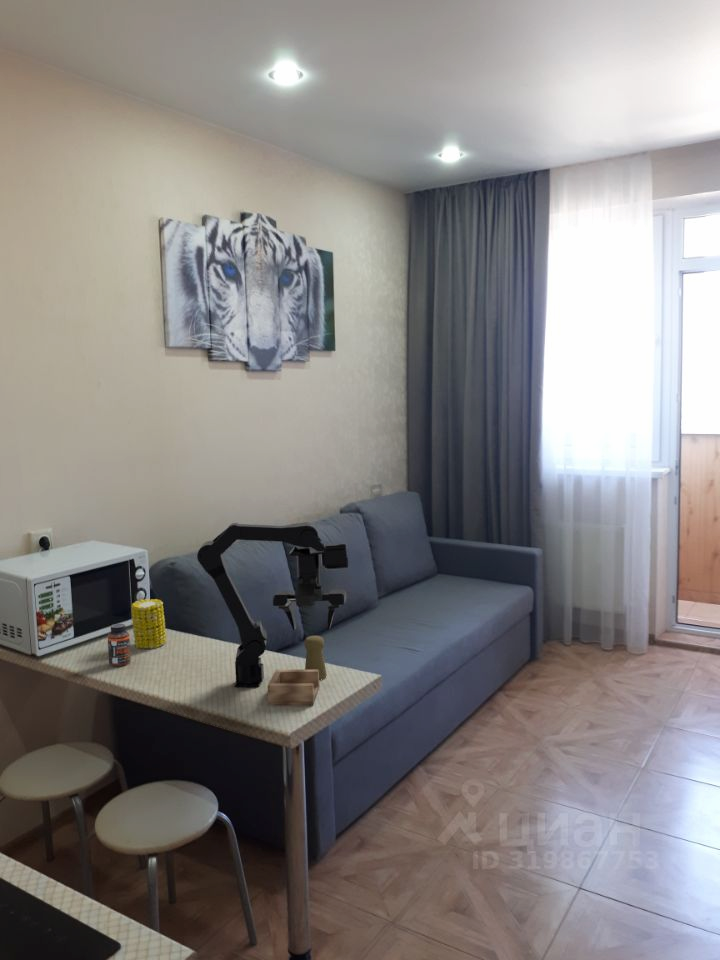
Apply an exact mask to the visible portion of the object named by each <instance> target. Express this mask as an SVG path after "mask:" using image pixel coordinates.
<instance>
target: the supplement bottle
mask: <svg viewBox="0 0 720 960" xmlns="http://www.w3.org/2000/svg"><path fill="white" fill-rule="evenodd" d="M126 629H127V628H126V624H125V623H115V624H114V623H113V624H112V625H110V632H109V633H108V635H107V650H108V663H109V666H111V667H123V666H127V665H129V664H130V663H131V659H132V658H131V655H132V654H131V642H130V641H131V640H130V632H129V631H127V630H126Z"/></svg>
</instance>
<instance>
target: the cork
mask: <svg viewBox="0 0 720 960" xmlns="http://www.w3.org/2000/svg"><path fill="white" fill-rule="evenodd" d="M324 646H325V641H324V638H323V637H322V636H320V635H310V636H307V637H306V638H305V640H304V647H305V650H306V653H305V654H306V655H305V665H304V670H311V669H319V680H321V679H324V678H326V676H327V677H328V675H327V669H326V664H325V662H326V661H325V658H324V657H325V656H324V653H323V651H324V650H323V648H324ZM326 679H327V678H326ZM324 680H325V679H324ZM321 681H322V680H321Z"/></svg>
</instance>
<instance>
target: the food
mask: <svg viewBox="0 0 720 960" xmlns="http://www.w3.org/2000/svg"><path fill="white" fill-rule="evenodd" d="M163 605H164V602H163V601H162V600H161V599H157V598H154V599H148V598H147V599H146V598H145V599H139V600H135V601H134V602H132V604H131V607H130V609H131V617H132V618H131V619H132V623H131V624H132V631H133V638H134V640H133V641H134V644H135V645H134V647H136V648H137V649H154V648H155V649H159V647H162V646H163V645H164V644H166V640H167V634H166V619H165V615H164V614H165V612H164V610H165V609H164V606H163Z"/></svg>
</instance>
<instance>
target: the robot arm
mask: <svg viewBox="0 0 720 960" xmlns="http://www.w3.org/2000/svg"><path fill="white" fill-rule="evenodd" d="M238 540H239V541H261V542H282V543H285V544H289V545H293V548H292V549H291V550H290V551H289V556H290V557H296V564H297V565H296V567H297V568H296V569H297V585H296V588H295V592H294V593H292V590H291V589H289V590H287V589H286V590H278V591H277V592H275V594H274V595H273V597H272V605H273V607H277V609H278V610H282V611H283V612H284V613H285V614H286V617H287V618H288V622H289V623H290V626H291V628H292V631H296V616H295V609H294V602H295V604H296V606H297V607H298V608H299V607H305V606H306V607H313V606H315V605H316V602H325V601H326V602H328V606H327V609H328V610H327V613H328V614H327V631H329V630H330V629H331V626H332V622H333V618H334V614H335V612H336V610H337V609H339V608H341V606H343V605H345V603H346V601H347V598H348V597H347V591H346V590H345V589H343V588H341V589H331V590H330V591H329V593H324V590H323V586H322V585H321V577H320V575H321V574H320V564H321V567H324V569H326V570H325V571H334V570H347V569H349V568H348V567H349V560H348V559H349V558H348V554H347V545H346V543H345V542H339V543H332V544H325V542H324V540H322V539H321V538H320V537H319V533H318V530H317V527H316V526H315V525H314V524H313V523H311V522H308V521H307V522H297V523H291V524H286V525H268V524H267V525H266V524H245V523H238V522H233V523H231V524H229V525H228V527H226V528H225V530H223V531H222V532H221V533H219V534H218V535H217V536H216V537H215V538H213V540H208V541H205V542H204V543H202V544H201V546H200V547H199V549H198V552H197V553H196V554H197V555H196V560H197V561H198V563H199V564H200V565H201V567H202V568H203V570H204V571H205V572H206V573H207V574H208V575H209V576H210V577H211V579H212V580H213V581H214V583H215V585H216V587H217V588H218V591H219V593H220V595H221V597H222V598H223V600H224V602H225V605H226V606H227V608H228V610H229V612H230V614H231V617H232V619H233V620H234V622H235V624H236V626H237V628H238V629H237V630H238V634H239V638H240V645H239V646H237V649H236V654H235V655H236V656H235V661H234V665H235V666H234V667H235V669H234V670H235V683H234V688H235V687H236V688H241V687H242V688H243V687H246V688H247V687H253V688H257V687H260V685H261V683H262V682H263V681H264V679H265V674H264V672H265V671H264V669H265V667H264V663H262V658H261V656H262V655H264V653H265V652H266V648H267V646H266V645H267V637H268V636H267V634H268V632H267V631H266V630H265V628H264V627H263V625H262V621H261V620H260V619H259V620H258V621H255V620H254V619H253V618H252V617H251V615H250V613H249V611H248V609H247V608H246V605H245V603H244V601H243V600H242V597H241V595H240V594H239V591H238V589H237V588H236V585H235V583H234V581H233V579H232V577H231V575H230V573H229V571H228V568H227V567H228V566H227V563H226V559H225V555H224V553H225V552H226V551H227V550H228V549H229V548H230V547H231V546H232V545H233V544H234V543H235V542H236V541H238ZM310 548H311V549H312V550H310ZM320 559H321V561H320ZM320 562H321V563H320Z"/></svg>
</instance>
